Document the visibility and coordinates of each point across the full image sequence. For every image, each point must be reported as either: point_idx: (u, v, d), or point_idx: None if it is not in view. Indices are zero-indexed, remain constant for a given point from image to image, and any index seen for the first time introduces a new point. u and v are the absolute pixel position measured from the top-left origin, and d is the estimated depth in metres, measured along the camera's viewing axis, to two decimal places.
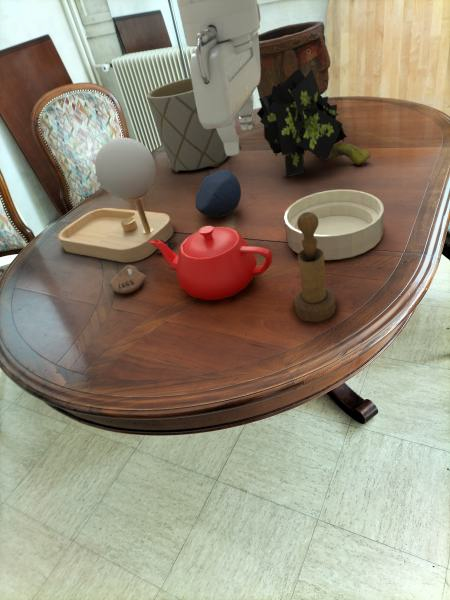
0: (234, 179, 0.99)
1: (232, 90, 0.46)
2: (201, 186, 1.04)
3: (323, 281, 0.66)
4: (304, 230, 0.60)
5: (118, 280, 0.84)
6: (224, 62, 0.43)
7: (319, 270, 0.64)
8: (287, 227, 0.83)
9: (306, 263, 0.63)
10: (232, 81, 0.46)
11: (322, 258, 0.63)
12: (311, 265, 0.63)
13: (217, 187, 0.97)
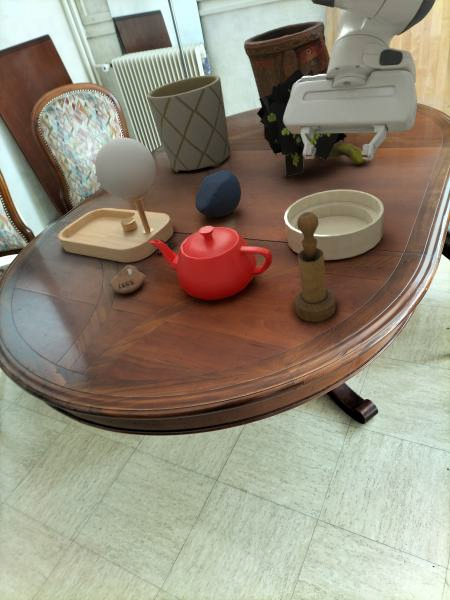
0: (234, 179, 0.99)
1: (303, 106, 0.67)
2: (201, 186, 1.04)
3: (323, 281, 0.66)
4: (304, 230, 0.60)
5: (118, 280, 0.84)
6: (299, 88, 0.68)
7: (319, 270, 0.64)
8: (287, 227, 0.83)
9: (306, 263, 0.63)
10: (308, 101, 0.67)
11: (322, 258, 0.63)
12: (311, 265, 0.63)
13: (217, 187, 0.97)
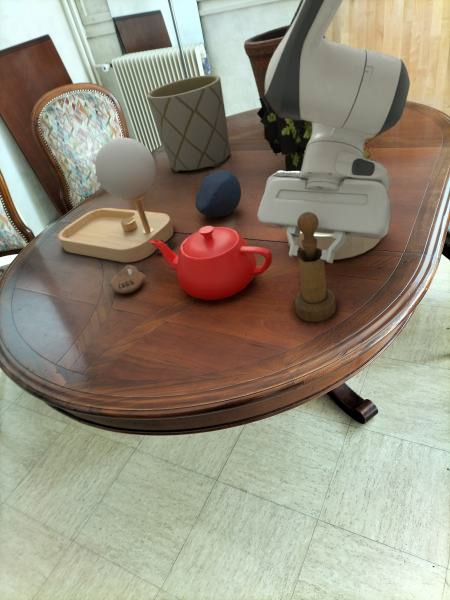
0: (234, 179, 0.99)
1: (277, 204, 0.66)
2: (201, 186, 1.04)
3: (323, 281, 0.66)
4: (304, 230, 0.60)
5: (118, 280, 0.84)
6: (274, 185, 0.67)
7: (319, 270, 0.64)
8: None
9: (306, 263, 0.63)
10: (282, 200, 0.66)
11: None
12: (311, 265, 0.63)
13: (217, 187, 0.97)
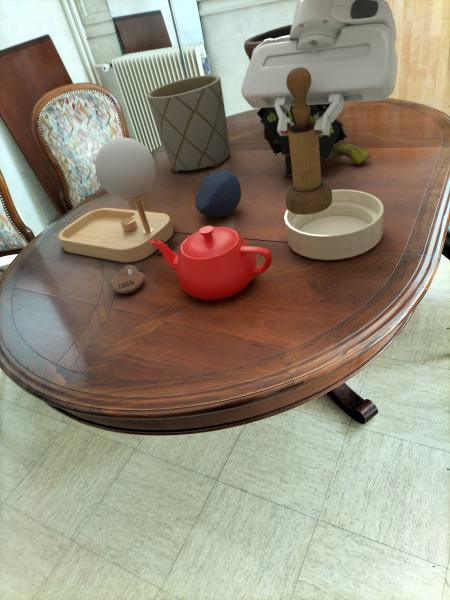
0: (234, 179, 0.99)
1: (263, 73, 0.57)
2: (201, 186, 1.04)
3: (317, 162, 0.56)
4: (294, 88, 0.51)
5: (118, 280, 0.84)
6: (260, 52, 0.57)
7: (312, 145, 0.54)
8: (287, 227, 0.83)
9: (297, 135, 0.53)
10: (269, 67, 0.56)
11: None
12: (303, 137, 0.53)
13: (217, 187, 0.97)
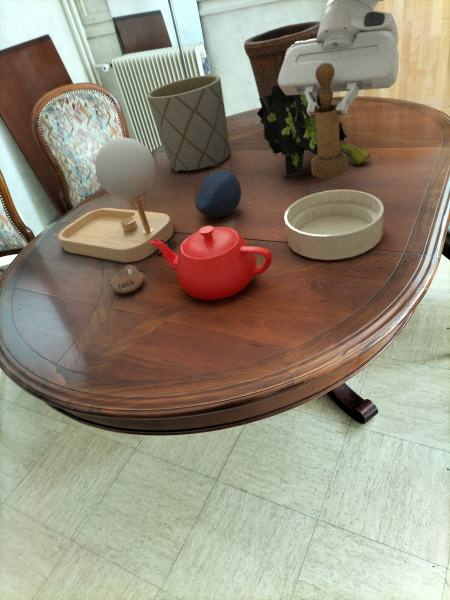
0: (234, 179, 0.99)
1: (295, 68, 0.74)
2: (201, 186, 1.04)
3: (337, 135, 0.73)
4: (322, 78, 0.67)
5: (118, 280, 0.84)
6: (293, 52, 0.74)
7: (334, 122, 0.71)
8: (287, 227, 0.83)
9: (323, 114, 0.70)
10: (300, 63, 0.73)
11: None
12: (327, 116, 0.70)
13: (217, 187, 0.97)
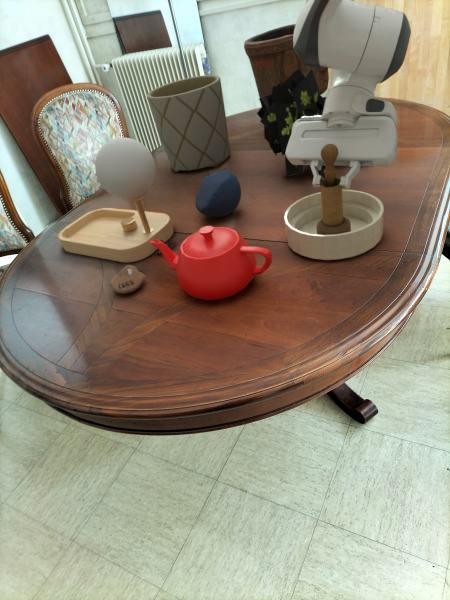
0: (234, 179, 0.99)
1: (302, 142, 0.79)
2: (201, 186, 1.04)
3: (341, 206, 0.79)
4: (327, 158, 0.73)
5: (118, 280, 0.84)
6: (299, 127, 0.80)
7: (338, 195, 0.77)
8: (287, 227, 0.83)
9: (327, 188, 0.76)
10: (306, 138, 0.79)
11: None
12: (332, 190, 0.76)
13: (217, 187, 0.97)
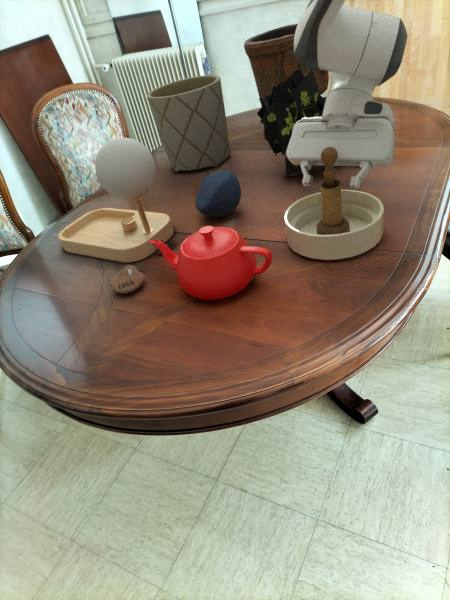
0: (234, 179, 0.99)
1: (302, 143, 0.82)
2: (201, 186, 1.04)
3: (340, 206, 0.81)
4: (326, 161, 0.76)
5: (118, 280, 0.84)
6: (300, 128, 0.82)
7: (337, 196, 0.79)
8: (287, 227, 0.83)
9: (327, 190, 0.79)
10: (306, 139, 0.81)
11: (340, 186, 0.79)
12: (331, 191, 0.79)
13: (217, 187, 0.97)
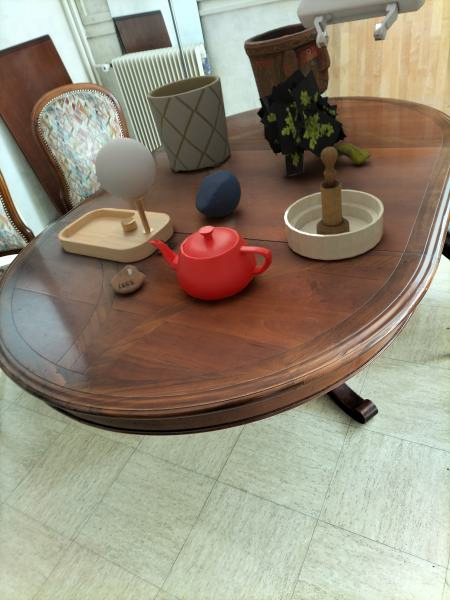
0: (234, 179, 0.99)
1: None
2: (201, 186, 1.04)
3: (340, 206, 0.81)
4: (326, 161, 0.76)
5: (118, 280, 0.84)
6: None
7: (337, 196, 0.79)
8: (287, 227, 0.83)
9: (327, 190, 0.79)
10: None
11: (340, 186, 0.79)
12: (331, 191, 0.79)
13: (217, 187, 0.97)
